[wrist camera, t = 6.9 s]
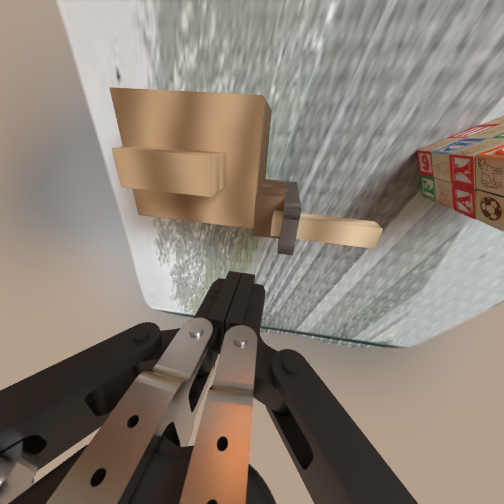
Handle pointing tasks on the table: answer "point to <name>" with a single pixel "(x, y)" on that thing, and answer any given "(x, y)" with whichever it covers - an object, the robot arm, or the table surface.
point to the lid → (190, 153)
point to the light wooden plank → (332, 230)
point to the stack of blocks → (467, 172)
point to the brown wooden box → (275, 199)
